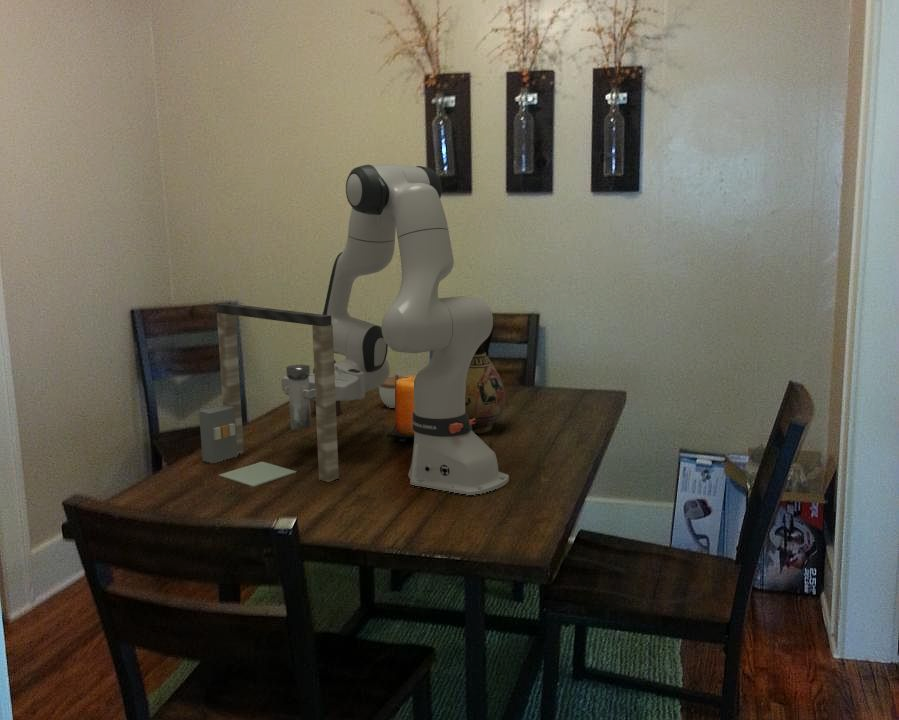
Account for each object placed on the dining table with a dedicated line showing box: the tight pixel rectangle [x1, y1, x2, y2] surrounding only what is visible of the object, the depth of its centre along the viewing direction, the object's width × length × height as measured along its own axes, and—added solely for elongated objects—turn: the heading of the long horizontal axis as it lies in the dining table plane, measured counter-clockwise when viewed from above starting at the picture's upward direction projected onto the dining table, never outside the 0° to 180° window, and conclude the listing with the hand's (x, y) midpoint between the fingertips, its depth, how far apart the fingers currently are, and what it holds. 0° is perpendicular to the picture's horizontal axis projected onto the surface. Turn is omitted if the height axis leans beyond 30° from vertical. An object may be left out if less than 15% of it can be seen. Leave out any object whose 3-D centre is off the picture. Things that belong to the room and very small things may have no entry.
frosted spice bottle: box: [285, 364, 312, 431], centre depth 202 cm, size 5×5×14 cm
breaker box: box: [198, 404, 239, 464], centre depth 208 cm, size 5×7×12 cm
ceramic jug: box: [465, 319, 506, 434], centre depth 229 cm, size 17×15×30 cm
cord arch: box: [216, 302, 340, 483], centre depth 200 cm, size 36×3×36 cm, turn 50°
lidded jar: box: [378, 374, 409, 409], centre depth 255 cm, size 11×11×9 cm
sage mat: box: [218, 461, 297, 488], centre depth 197 cm, size 12×12×1 cm
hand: (296, 393), depth 201 cm, fingers closed on frosted spice bottle, 5 cm apart
